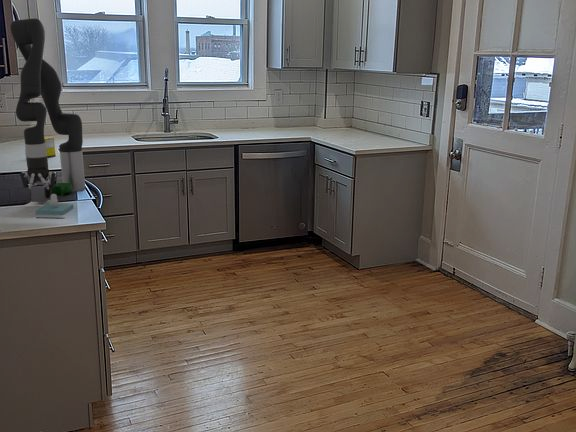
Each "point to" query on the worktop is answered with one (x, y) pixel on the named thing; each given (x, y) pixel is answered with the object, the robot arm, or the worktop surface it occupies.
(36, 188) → the metal collar
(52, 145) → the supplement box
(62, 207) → the block
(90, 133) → the worktop surface
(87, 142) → the worktop surface
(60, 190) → the clamp
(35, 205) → the rod stand
